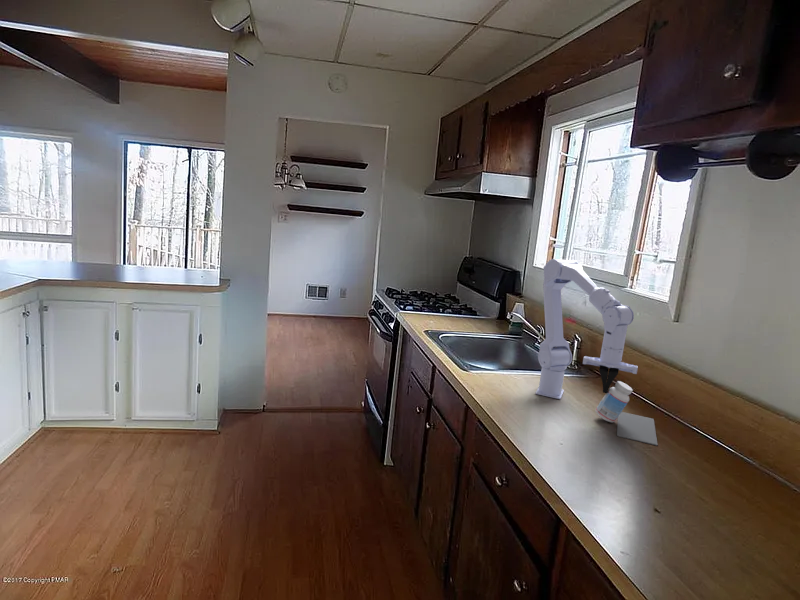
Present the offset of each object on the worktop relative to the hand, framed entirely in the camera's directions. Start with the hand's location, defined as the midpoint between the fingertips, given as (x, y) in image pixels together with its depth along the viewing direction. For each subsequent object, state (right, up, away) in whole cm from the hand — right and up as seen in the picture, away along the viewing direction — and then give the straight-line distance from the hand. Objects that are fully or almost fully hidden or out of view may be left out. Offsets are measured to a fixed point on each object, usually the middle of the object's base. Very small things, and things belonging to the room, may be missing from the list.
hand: (605, 392), depth 149 cm
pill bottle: (0, -8, +1) cm, 8 cm away
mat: (+8, -10, -2) cm, 13 cm away
